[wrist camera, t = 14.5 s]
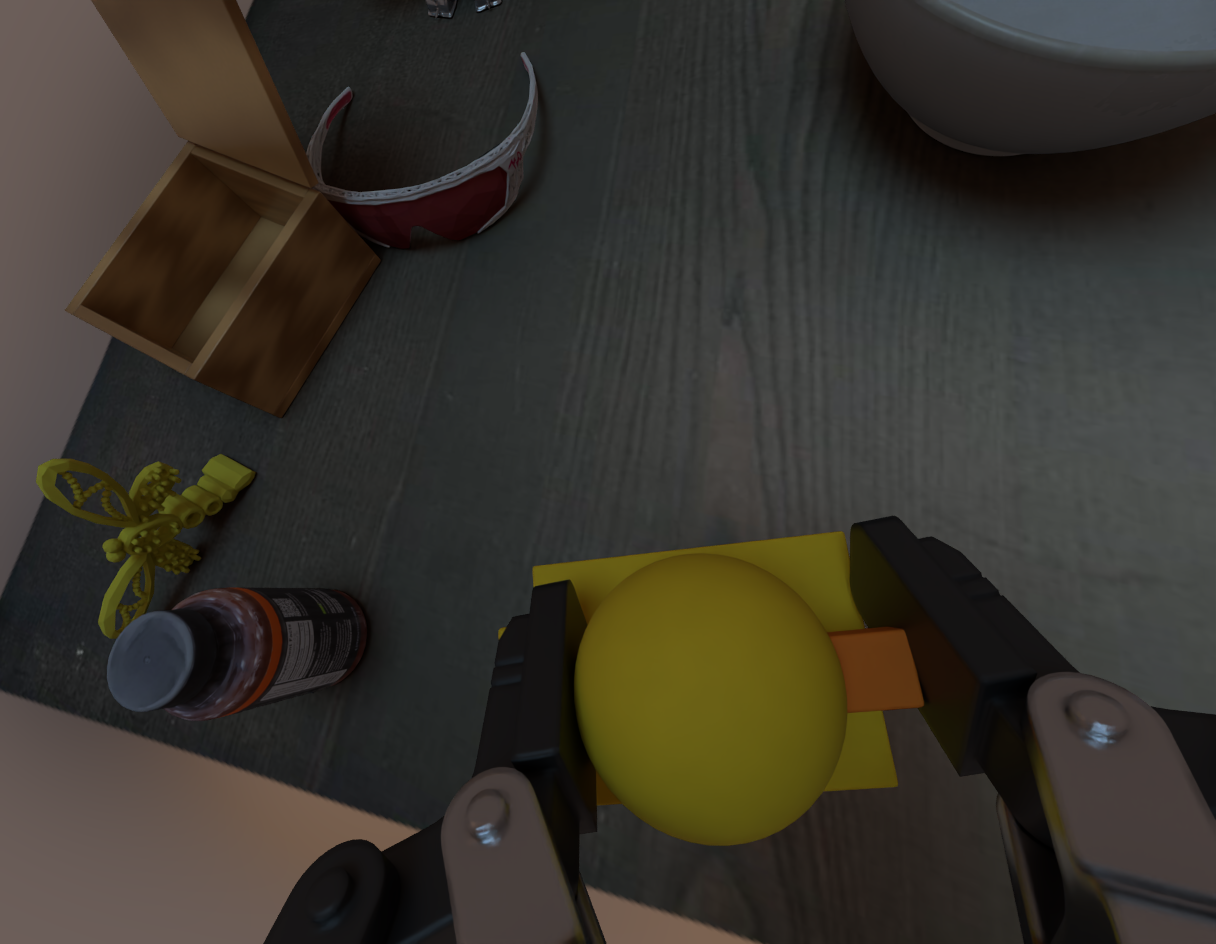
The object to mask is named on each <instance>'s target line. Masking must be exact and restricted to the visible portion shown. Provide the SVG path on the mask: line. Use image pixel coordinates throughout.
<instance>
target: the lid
mask: <svg viewBox="0 0 1216 944" xmlns="http://www.w3.org/2000/svg"><path fill="white" fill-rule="evenodd" d="M92 2H93V4H94V5H95V7H96V9H97V10H98V12H99V13H100V15H101V16H102V18H103V20H104V21H105V23H106V24H107V26H108V27H109V29H110V31H111V32H112V34H113V35H114V37H115V38H116V40H117V41H118V43H119V45H120V46H121V48H122V49H123V51H124V52H125V54H126V56H127V57H128V59H129V60H130V62H131V63H132V65H133V67H134V68H135V70H136V71H137V73H138V74H139V76H140V78H141V79H142V80H143V82H144V84H145V85H146V87H147V89H148V90H149V92H150V93H151V95H152V96H153V98H154V99H155V101H156V103H157V104H158V106H159V107H160V109H161V110H162V112H163V114H164V115H165V117H166V118H167V120H168V121H169V123H170V124H171V126H172V128H173V129H174V131H175V132H176V134H177V135H178V137H180V138H183V139H186V140H188V141H190V142H193V143H196V144H198V145H201V146H203V147H206V148H209V149H211V150H214V151H216V152H219V153H221V154H224V155H227V156H229V157H232V158H234V159H237V160H239V161H242V162H245V163H247V164H250V165H252V166H255V167H257V168H260V169H263V170H265V171H268V172H270V173H273V174H275V175H278V176H281V177H283V178H286V179H288V180H291V181H293V182H296V183H299V184H301V185H304V186H306V187H309V188H312V187H314V186H315V185H317V184H318V183H319V182H318V180H317V178H316V175H315V173H314V171H313V169H312V167H311V164H310V162H309V160H308V158H307V155H306V153H305V151H304V149H303V147H302V144H301V142H300V140H299V138H298V136H297V133H296V131H295V129H294V127H293V125H292V122H291V120H290V118H289V116H288V114H287V111H286V109H285V107H284V105H283V103H282V100H281V98H280V96H279V94H278V92H277V89H276V87H275V85H274V83H273V81H272V78H271V76H270V74H269V72H268V69H267V67H266V65H265V63H264V61H263V58H262V56H261V54H260V52H259V50H258V47H257V45H256V43H255V41H254V39H253V36H252V34H251V32H250V30H249V28H248V25H247V23H246V21H245V19H244V17H243V14H242V12H241V10H240V8H239V6H238V3H237V1H236V0H92Z"/></svg>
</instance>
